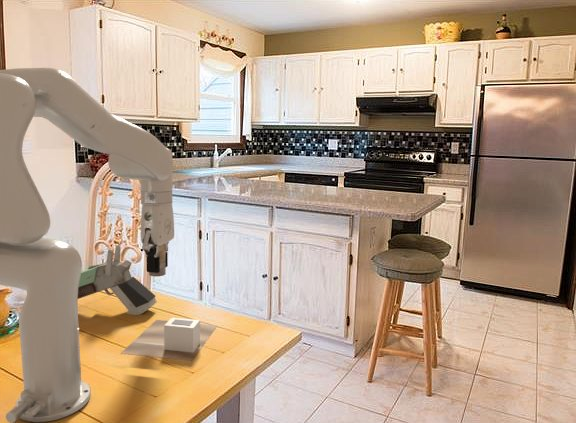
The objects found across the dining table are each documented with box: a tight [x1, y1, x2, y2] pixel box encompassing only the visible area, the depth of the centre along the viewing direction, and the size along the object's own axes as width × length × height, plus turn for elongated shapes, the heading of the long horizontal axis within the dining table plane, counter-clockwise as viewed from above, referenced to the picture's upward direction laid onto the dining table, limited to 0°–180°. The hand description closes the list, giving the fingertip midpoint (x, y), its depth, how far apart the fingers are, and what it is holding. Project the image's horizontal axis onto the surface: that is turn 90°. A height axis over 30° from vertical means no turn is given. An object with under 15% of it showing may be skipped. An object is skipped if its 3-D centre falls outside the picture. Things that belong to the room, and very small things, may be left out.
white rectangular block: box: [164, 317, 201, 352], centre depth 104 cm, size 4×7×6 cm, turn 82°
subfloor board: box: [120, 319, 218, 362], centre depth 109 cm, size 19×17×1 cm
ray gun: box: [78, 245, 158, 316], centre depth 125 cm, size 7×32×20 cm, turn 85°
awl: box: [148, 242, 167, 277], centre depth 112 cm, size 4×4×9 cm
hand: (157, 268), depth 112 cm, fingers closed on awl, 4 cm apart
